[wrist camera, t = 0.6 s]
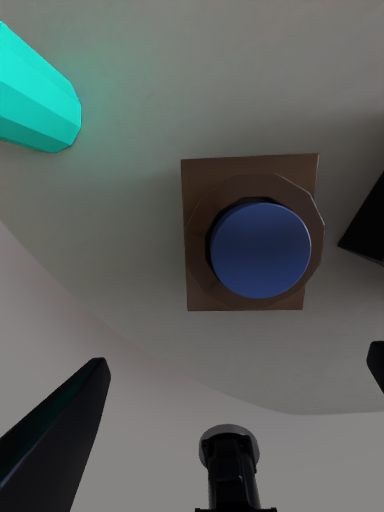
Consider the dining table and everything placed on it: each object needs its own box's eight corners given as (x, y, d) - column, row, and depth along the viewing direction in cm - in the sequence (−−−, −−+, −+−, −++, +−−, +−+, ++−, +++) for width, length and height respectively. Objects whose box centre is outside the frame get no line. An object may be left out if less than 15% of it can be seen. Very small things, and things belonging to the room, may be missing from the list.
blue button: (290, 283, 13) (306, 298, 11) (210, 284, 13) (211, 299, 11) (297, 200, 12) (317, 201, 10) (209, 203, 12) (210, 205, 10)
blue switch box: (279, 284, 19) (316, 325, 13) (190, 285, 20) (185, 326, 13) (287, 165, 17) (339, 144, 10) (186, 169, 17) (177, 152, 11)
